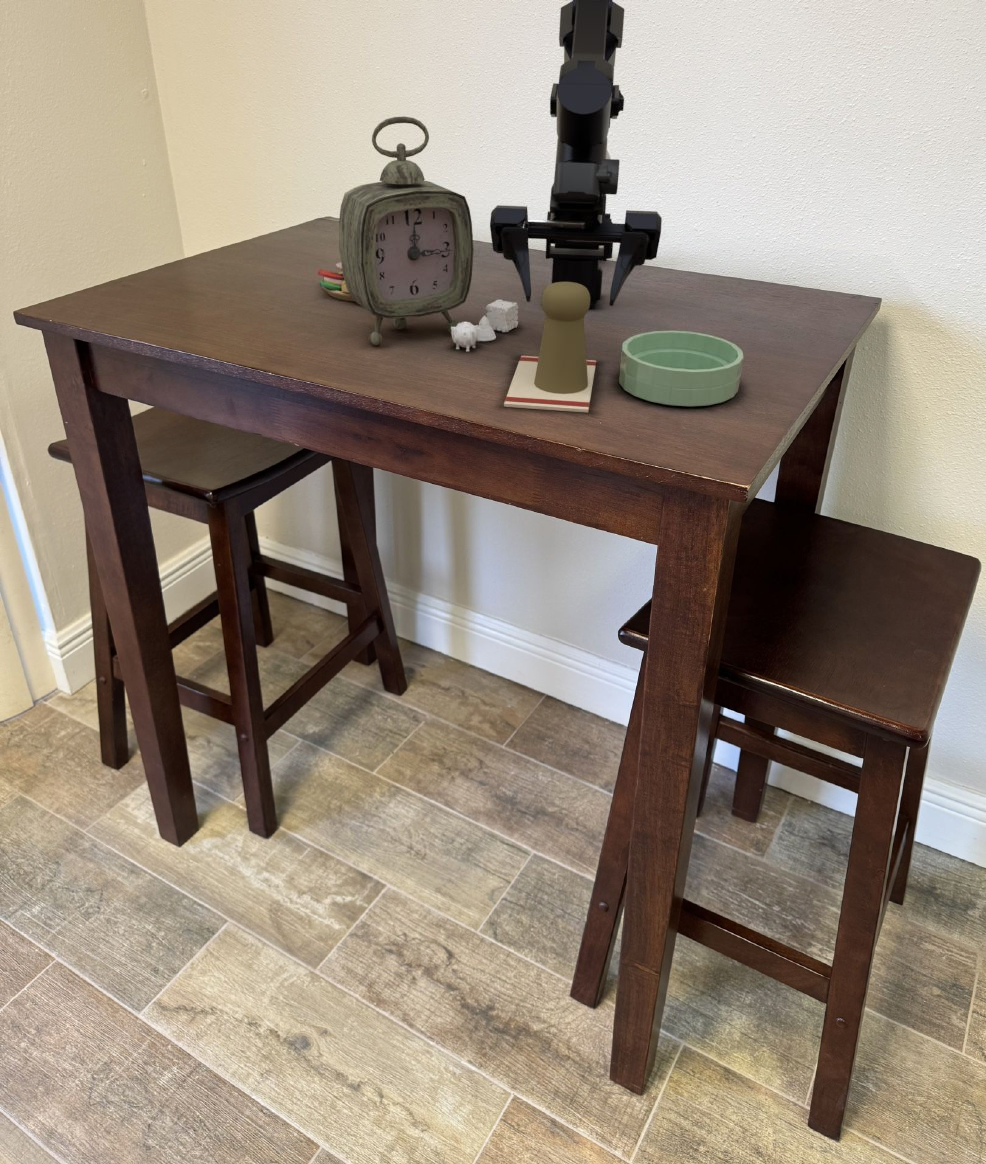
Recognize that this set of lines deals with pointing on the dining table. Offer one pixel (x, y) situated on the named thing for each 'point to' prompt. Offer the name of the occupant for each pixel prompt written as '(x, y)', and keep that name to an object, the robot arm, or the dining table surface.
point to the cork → (563, 339)
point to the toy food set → (335, 283)
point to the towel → (534, 398)
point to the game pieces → (487, 324)
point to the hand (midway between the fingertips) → (569, 302)
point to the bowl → (680, 368)
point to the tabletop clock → (405, 241)
